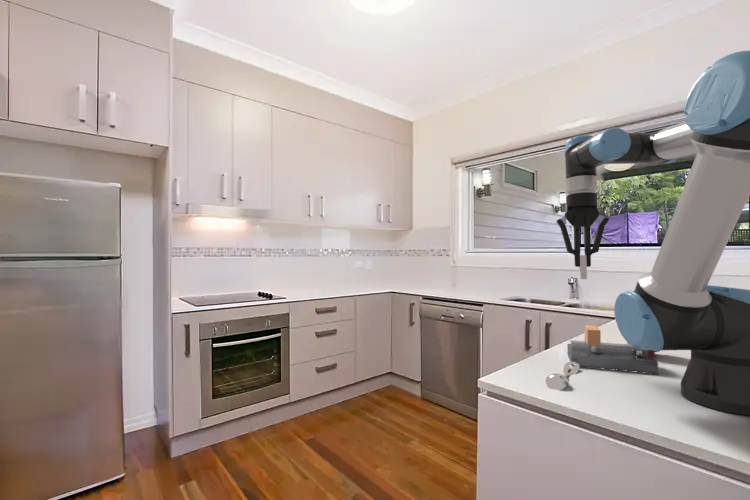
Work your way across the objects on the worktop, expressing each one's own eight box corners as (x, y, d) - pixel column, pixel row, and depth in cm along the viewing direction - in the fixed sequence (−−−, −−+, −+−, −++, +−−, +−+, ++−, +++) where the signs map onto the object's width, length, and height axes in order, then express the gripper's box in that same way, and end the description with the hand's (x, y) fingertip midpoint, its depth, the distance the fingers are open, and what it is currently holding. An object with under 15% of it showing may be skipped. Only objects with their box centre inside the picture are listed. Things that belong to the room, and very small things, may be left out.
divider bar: (651, 358, 98) (651, 334, 98) (572, 351, 105) (572, 329, 105) (644, 352, 104) (644, 330, 104) (570, 346, 111) (570, 325, 111)
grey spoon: (563, 352, 102) (583, 355, 99) (563, 365, 102) (583, 369, 99) (542, 376, 86) (566, 381, 83) (543, 392, 86) (566, 397, 84)
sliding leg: (600, 353, 103) (600, 330, 103) (587, 352, 104) (587, 329, 104) (596, 347, 109) (596, 325, 109) (584, 346, 110) (584, 325, 110)
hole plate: (657, 374, 95) (657, 361, 95) (571, 365, 102) (571, 354, 102) (643, 360, 107) (643, 349, 107) (567, 353, 114) (567, 343, 114)
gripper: (605, 194, 108) (607, 278, 107) (554, 197, 113) (555, 278, 112) (611, 189, 101) (613, 279, 100) (556, 192, 106) (558, 279, 105)
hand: (583, 278), depth 106 cm, fingers closed
